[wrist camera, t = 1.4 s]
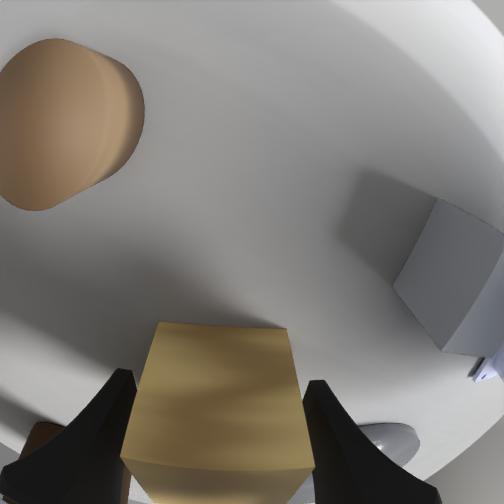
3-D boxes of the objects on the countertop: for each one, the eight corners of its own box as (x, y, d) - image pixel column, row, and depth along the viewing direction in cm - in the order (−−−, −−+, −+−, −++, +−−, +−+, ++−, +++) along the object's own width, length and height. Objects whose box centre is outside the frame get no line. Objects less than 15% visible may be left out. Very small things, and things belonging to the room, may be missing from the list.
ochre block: (286, 328, 11) (315, 466, 6) (269, 401, 13) (281, 508, 8) (159, 320, 11) (120, 456, 5) (170, 396, 13) (153, 502, 7)
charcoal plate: (449, 405, 16) (454, 414, 15) (372, 483, 22) (374, 490, 22) (236, 434, 15) (236, 448, 14) (228, 499, 21) (228, 507, 20)
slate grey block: (486, 232, 10) (545, 272, 6) (446, 304, 11) (492, 358, 8) (436, 196, 9) (509, 237, 6) (390, 285, 11) (440, 351, 7)
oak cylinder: (151, 49, 7) (114, 21, 4) (143, 184, 9) (104, 212, 6) (41, 69, 6) (-14, 63, 4) (38, 185, 8) (-15, 211, 6)
